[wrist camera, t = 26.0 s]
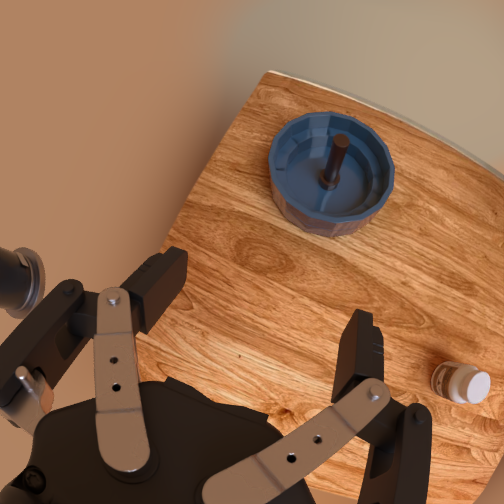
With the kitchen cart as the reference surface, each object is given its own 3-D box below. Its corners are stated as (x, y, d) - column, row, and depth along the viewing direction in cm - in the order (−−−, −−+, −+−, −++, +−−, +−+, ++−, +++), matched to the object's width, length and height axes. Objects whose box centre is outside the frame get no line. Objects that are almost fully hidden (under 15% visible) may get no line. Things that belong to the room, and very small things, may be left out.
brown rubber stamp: (320, 192, 34) (332, 151, 25) (316, 174, 35) (326, 130, 26) (340, 189, 34) (357, 149, 25) (335, 172, 35) (349, 129, 26)
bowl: (280, 245, 34) (280, 231, 28) (263, 144, 37) (260, 118, 32) (392, 229, 33) (409, 213, 28) (362, 134, 36) (372, 109, 31)
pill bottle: (430, 363, 29) (465, 371, 21) (458, 358, 29) (495, 363, 21) (428, 398, 28) (461, 413, 20) (456, 391, 28) (491, 403, 20)
